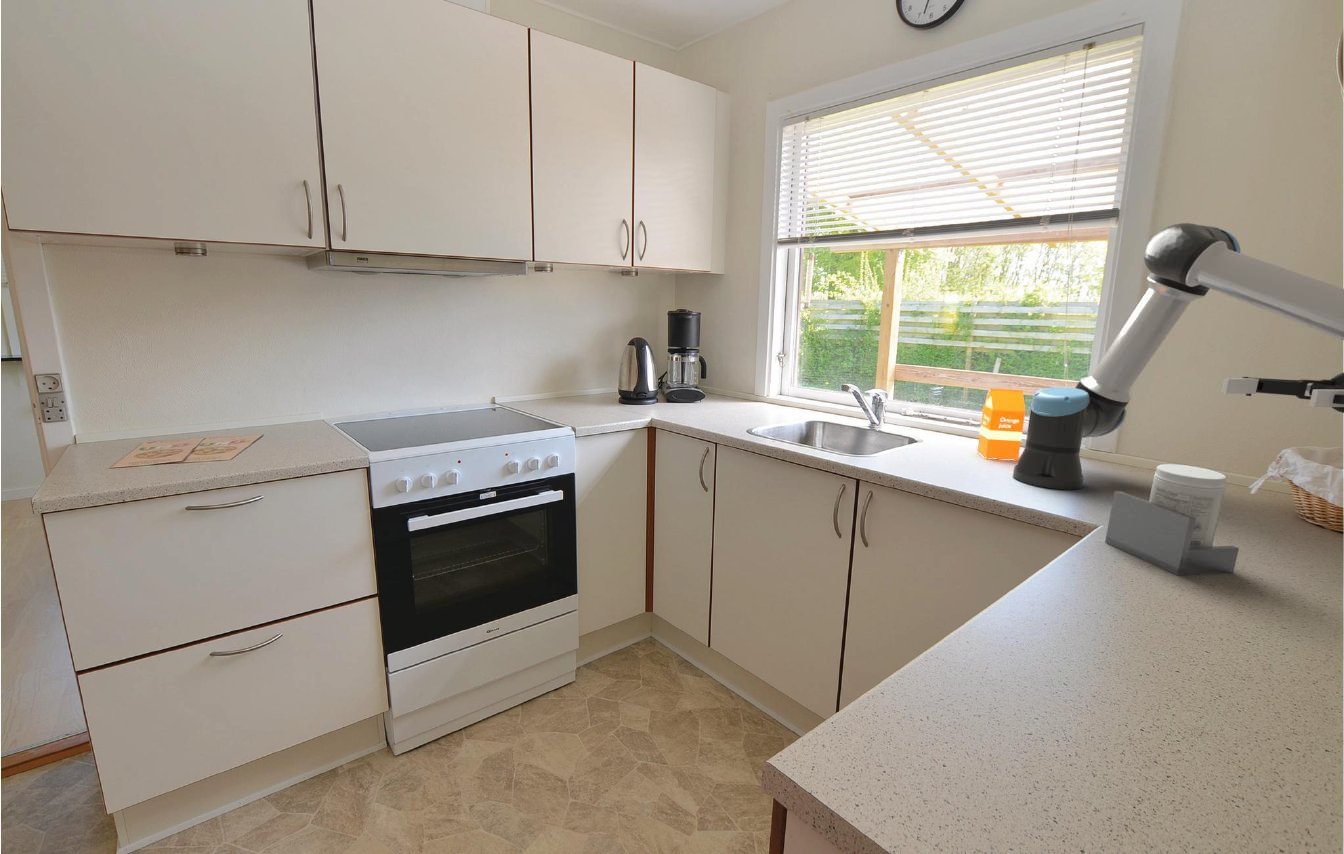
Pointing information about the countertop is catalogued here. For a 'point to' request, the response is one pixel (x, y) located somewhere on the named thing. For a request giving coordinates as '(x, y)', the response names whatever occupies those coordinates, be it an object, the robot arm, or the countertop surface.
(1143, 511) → the bracket
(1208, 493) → the supplement tub
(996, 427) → the orange juice
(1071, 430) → the robot arm
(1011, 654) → the countertop surface
